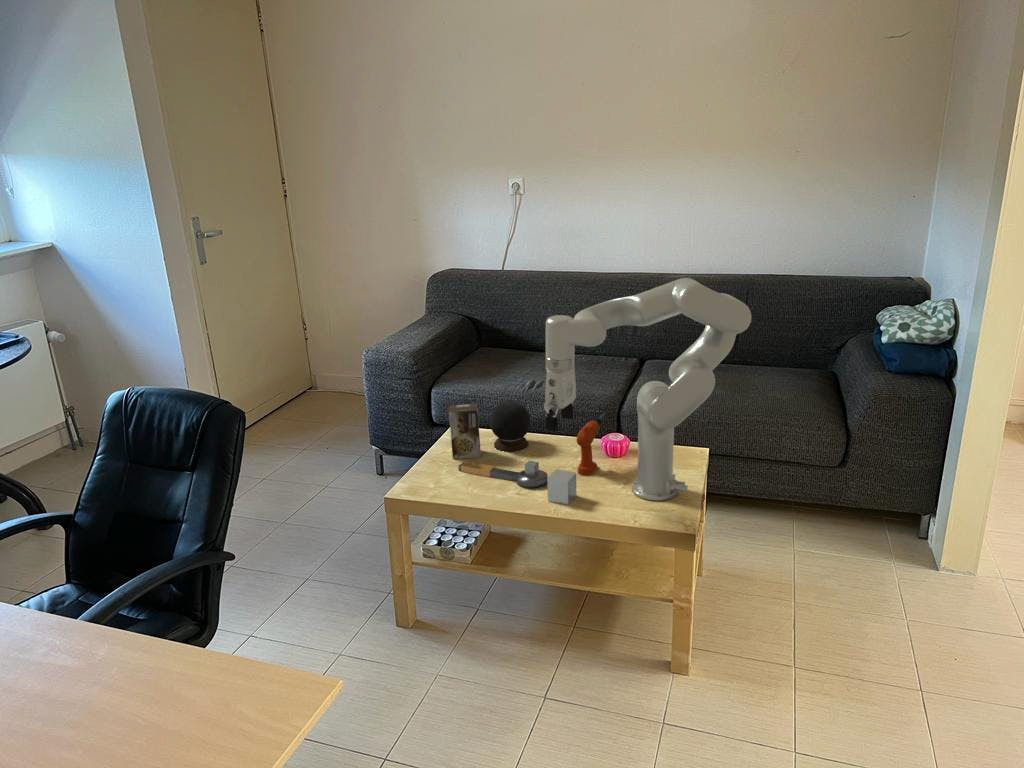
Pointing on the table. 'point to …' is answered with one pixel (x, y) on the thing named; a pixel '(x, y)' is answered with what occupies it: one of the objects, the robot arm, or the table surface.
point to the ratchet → (510, 473)
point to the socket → (561, 486)
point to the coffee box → (464, 431)
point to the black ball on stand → (510, 426)
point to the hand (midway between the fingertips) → (559, 424)
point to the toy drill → (588, 446)
